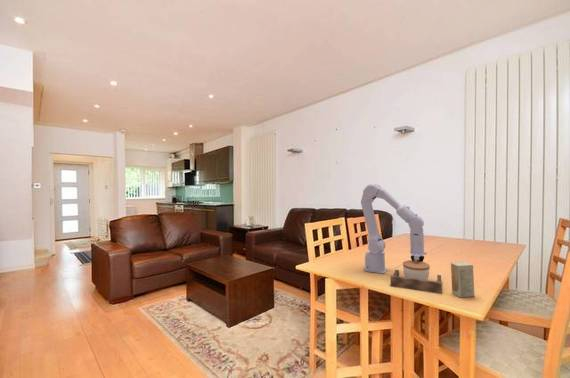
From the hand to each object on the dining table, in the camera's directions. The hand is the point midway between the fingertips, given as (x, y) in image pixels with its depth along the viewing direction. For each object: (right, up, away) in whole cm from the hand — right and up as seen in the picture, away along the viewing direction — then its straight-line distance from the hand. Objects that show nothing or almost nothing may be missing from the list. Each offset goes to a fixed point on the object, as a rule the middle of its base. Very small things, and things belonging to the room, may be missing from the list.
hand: (417, 271), depth 124 cm
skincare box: (+7, -3, -22) cm, 23 cm away
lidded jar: (-4, -3, -6) cm, 7 cm away
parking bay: (-5, -3, -8) cm, 10 cm away
